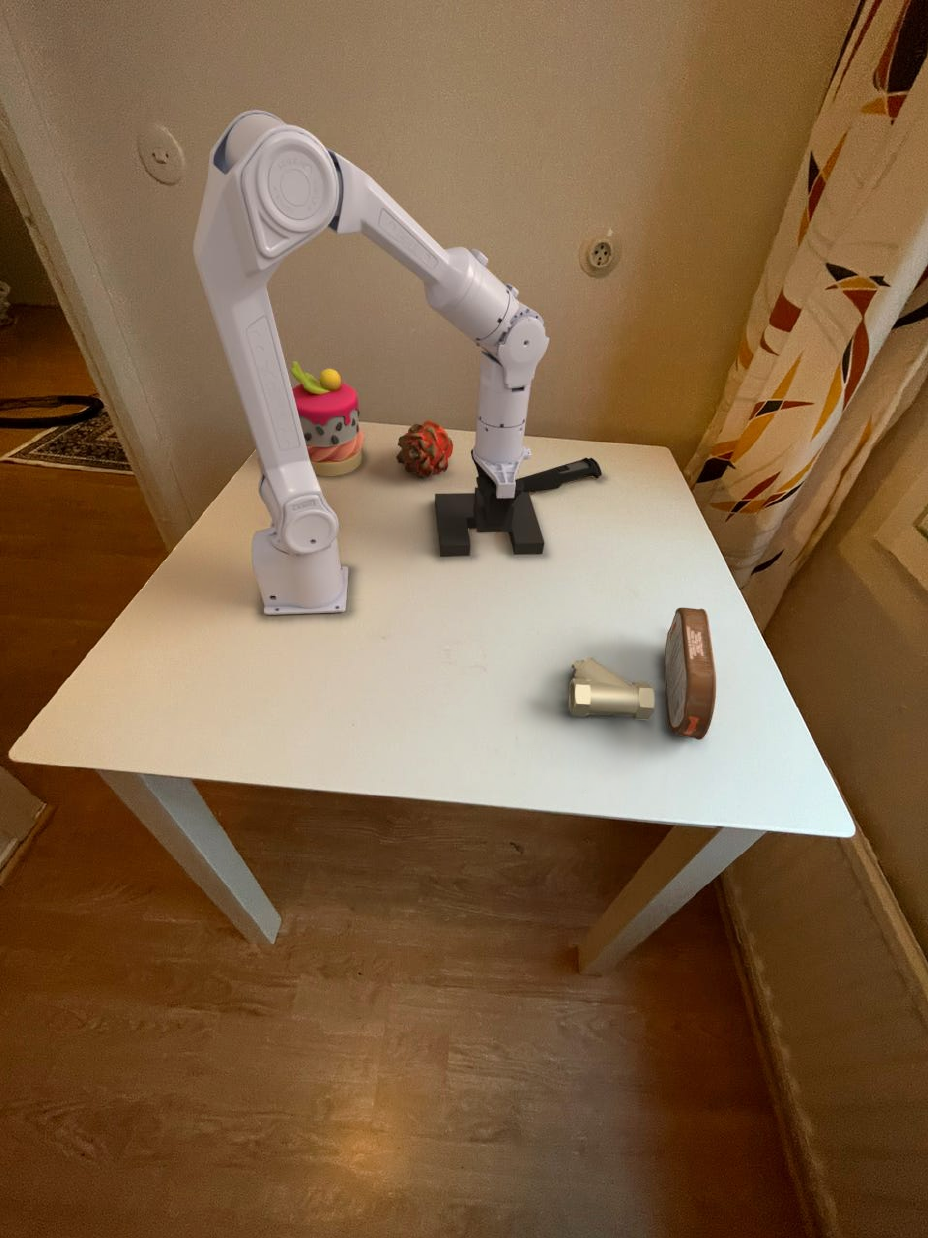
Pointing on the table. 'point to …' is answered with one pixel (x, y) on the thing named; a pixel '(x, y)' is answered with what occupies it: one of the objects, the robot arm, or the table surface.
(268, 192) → the robot arm
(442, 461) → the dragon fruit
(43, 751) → the table surface
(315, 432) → the cake
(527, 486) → the electric trimmer
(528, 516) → the pad base
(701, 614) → the tin
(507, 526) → the pad
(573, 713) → the pipe fitting
